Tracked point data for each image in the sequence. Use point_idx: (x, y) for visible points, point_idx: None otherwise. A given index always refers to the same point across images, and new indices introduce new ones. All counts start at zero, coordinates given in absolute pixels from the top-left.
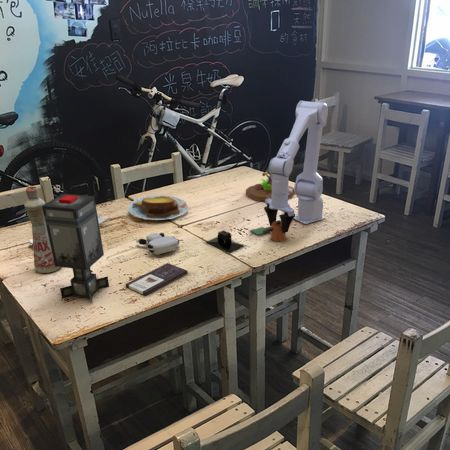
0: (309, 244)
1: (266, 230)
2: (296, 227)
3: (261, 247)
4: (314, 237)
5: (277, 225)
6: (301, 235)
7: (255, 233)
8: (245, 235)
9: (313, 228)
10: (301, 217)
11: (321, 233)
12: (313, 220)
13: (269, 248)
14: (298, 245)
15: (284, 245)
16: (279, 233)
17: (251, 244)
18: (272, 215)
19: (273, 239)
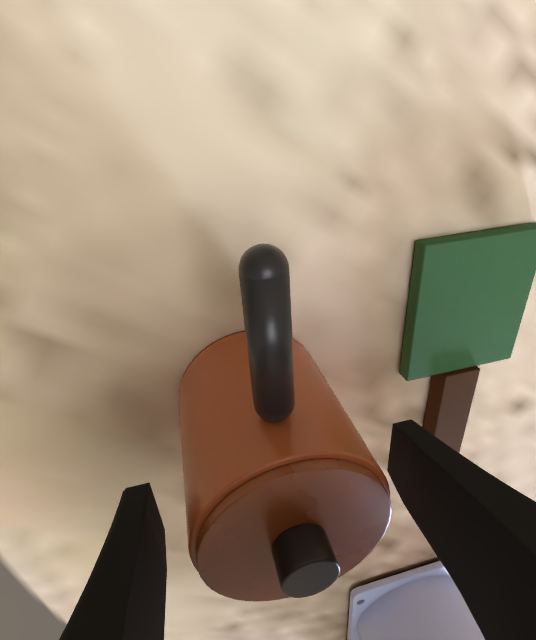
0: (14, 560)
1: (258, 319)
2: None
3: (103, 111)
4: None
5: (242, 517)
6: None
7: (461, 239)
8: (515, 121)
9: (276, 611)
10: (410, 610)
11: (183, 635)
12: (357, 630)
13: (31, 200)
14: (20, 491)
15: (65, 387)
16: (187, 442)
17: (263, 27)
18: (491, 571)
19: (229, 342)
